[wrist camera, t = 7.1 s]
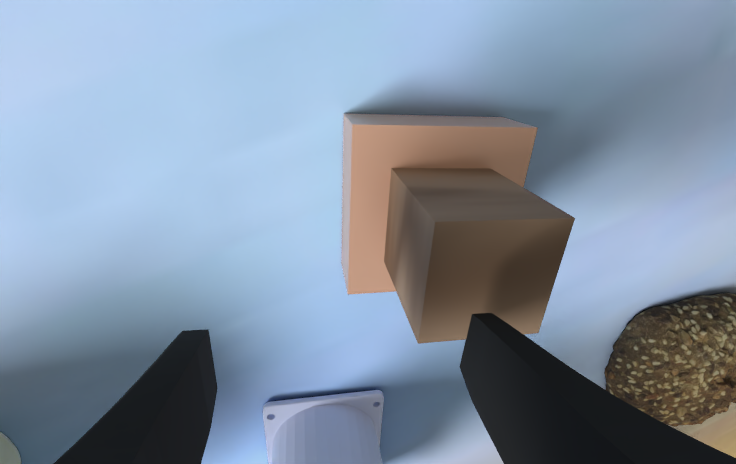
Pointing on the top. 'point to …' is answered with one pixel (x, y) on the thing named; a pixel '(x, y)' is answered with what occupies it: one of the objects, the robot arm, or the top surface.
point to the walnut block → (470, 249)
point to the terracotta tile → (412, 150)
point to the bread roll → (678, 360)
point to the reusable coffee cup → (8, 451)
